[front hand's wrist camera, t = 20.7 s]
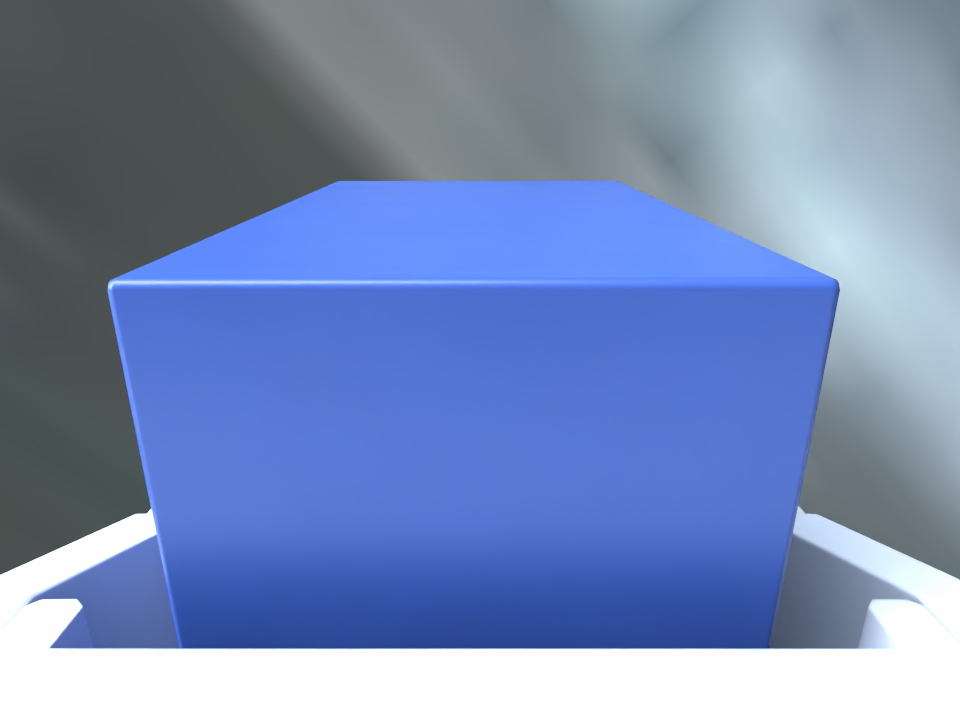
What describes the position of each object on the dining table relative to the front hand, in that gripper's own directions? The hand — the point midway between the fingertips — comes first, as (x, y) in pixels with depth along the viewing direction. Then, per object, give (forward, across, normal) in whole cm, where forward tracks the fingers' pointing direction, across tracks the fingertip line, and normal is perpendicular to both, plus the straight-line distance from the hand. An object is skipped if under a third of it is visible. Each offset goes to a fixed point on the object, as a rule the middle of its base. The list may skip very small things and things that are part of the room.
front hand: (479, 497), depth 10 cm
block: (+4, 0, 0) cm, 4 cm away
